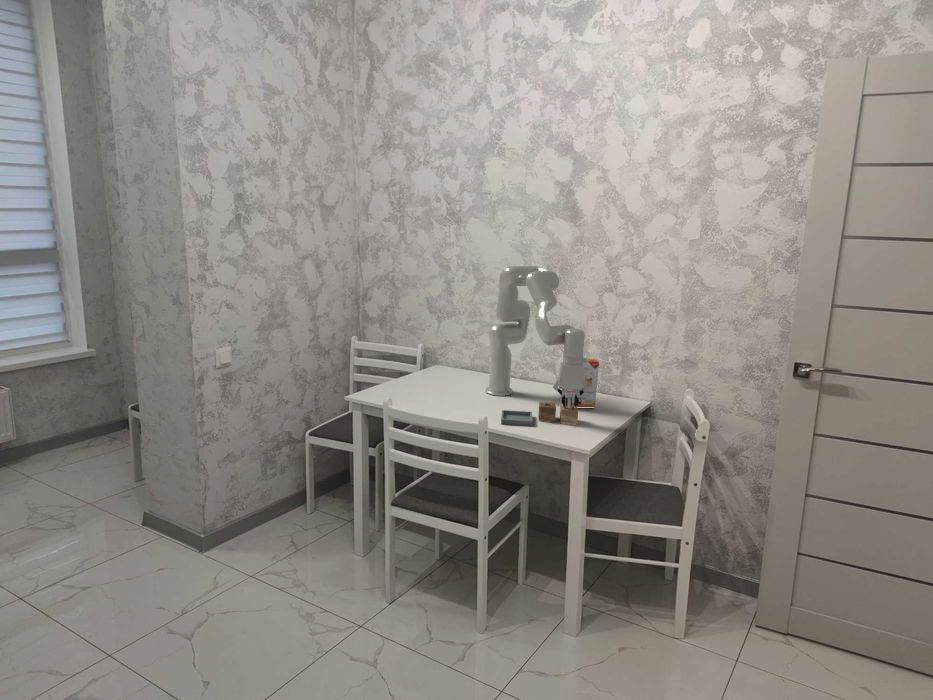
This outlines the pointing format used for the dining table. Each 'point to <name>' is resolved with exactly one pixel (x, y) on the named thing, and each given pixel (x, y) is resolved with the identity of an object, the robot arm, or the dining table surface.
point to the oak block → (568, 415)
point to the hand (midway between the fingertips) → (569, 405)
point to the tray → (516, 418)
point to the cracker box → (591, 381)
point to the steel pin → (568, 402)
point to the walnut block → (547, 411)
